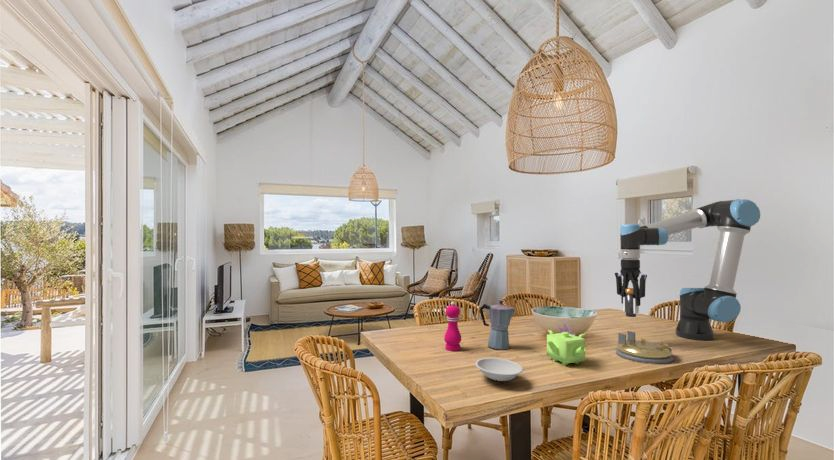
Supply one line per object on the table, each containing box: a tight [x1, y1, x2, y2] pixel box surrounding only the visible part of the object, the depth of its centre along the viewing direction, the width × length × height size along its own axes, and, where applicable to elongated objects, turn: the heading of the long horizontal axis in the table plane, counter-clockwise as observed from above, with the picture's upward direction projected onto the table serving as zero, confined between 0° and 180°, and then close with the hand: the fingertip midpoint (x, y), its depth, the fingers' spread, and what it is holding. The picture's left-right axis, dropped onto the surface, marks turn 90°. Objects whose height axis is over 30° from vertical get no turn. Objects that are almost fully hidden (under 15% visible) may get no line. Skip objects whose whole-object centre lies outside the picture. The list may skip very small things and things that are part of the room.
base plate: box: [615, 347, 674, 365], centre depth 164 cm, size 20×20×2 cm
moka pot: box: [479, 300, 517, 351], centre depth 175 cm, size 10×15×20 cm, turn 78°
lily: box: [556, 320, 576, 336], centre depth 178 cm, size 12×12×10 cm
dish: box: [475, 357, 524, 382], centre depth 137 cm, size 18×14×5 cm
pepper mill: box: [443, 301, 462, 352], centre depth 173 cm, size 7×7×20 cm
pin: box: [625, 287, 637, 318], centre depth 180 cm, size 4×4×12 cm
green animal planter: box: [546, 329, 587, 366], centre depth 156 cm, size 15×14×11 cm
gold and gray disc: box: [616, 330, 673, 359], centre depth 164 cm, size 19×19×6 cm
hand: (630, 312), depth 180 cm, fingers closed on pin, 4 cm apart
